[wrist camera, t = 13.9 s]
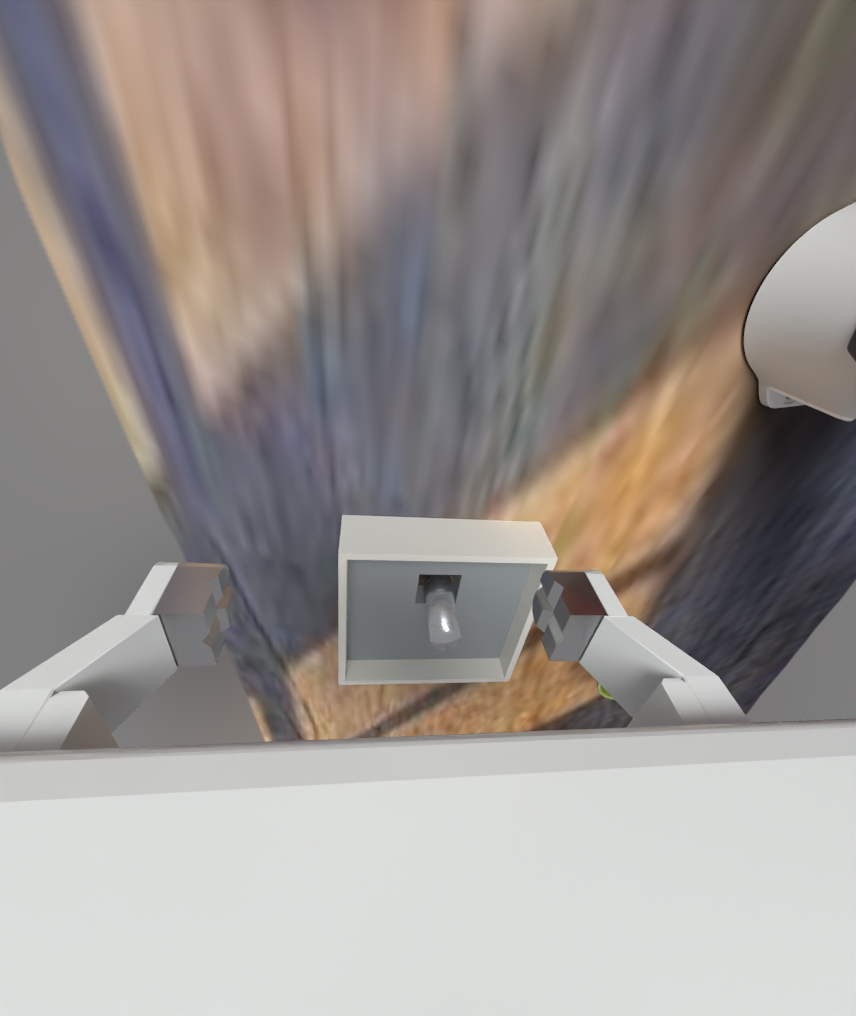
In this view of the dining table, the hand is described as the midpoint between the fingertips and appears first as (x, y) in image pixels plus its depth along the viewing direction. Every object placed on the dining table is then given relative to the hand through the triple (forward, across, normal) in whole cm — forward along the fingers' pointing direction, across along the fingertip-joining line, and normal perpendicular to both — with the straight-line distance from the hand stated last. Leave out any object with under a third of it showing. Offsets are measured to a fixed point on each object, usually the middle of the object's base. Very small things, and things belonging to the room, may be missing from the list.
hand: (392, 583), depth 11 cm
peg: (+29, -8, +28) cm, 41 cm away
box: (+29, -8, +31) cm, 43 cm away
